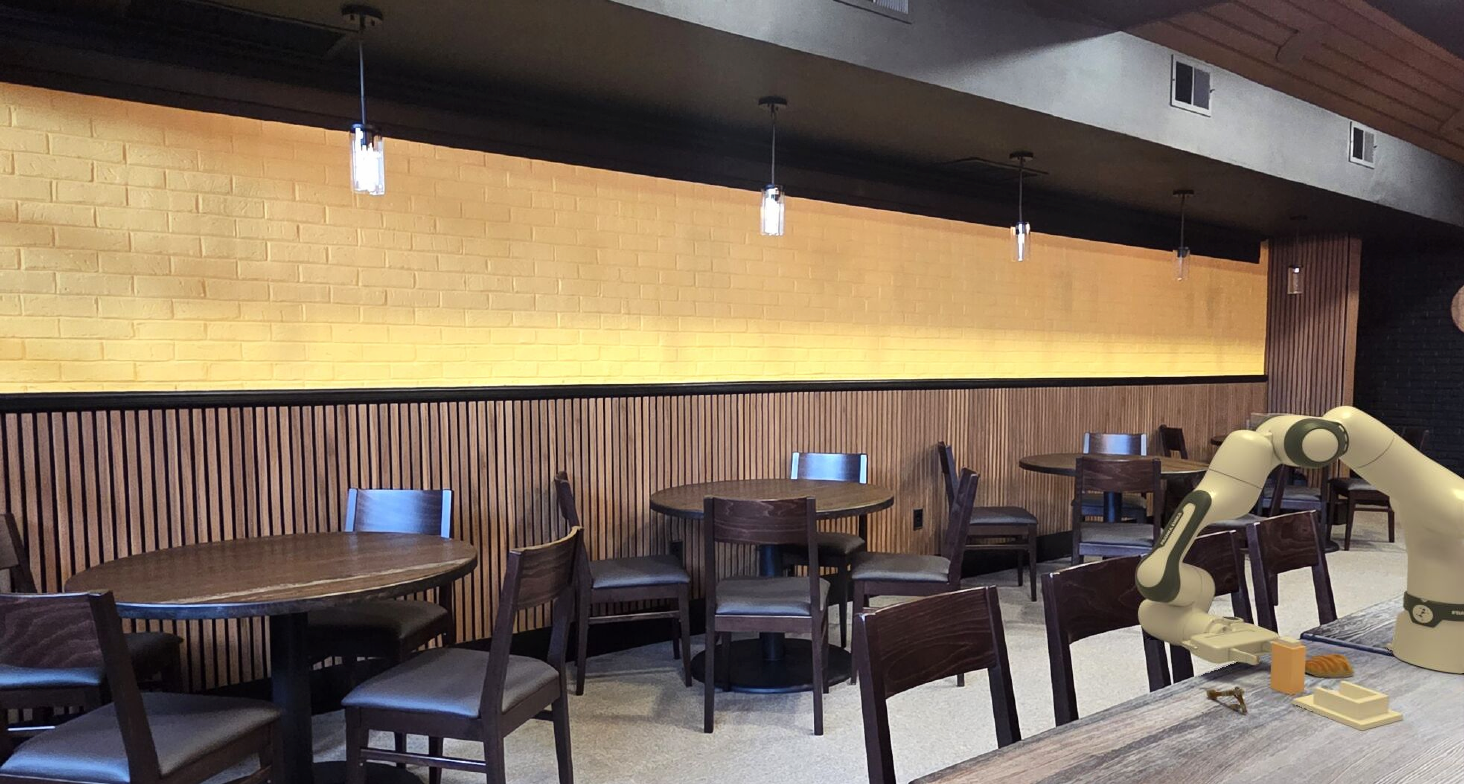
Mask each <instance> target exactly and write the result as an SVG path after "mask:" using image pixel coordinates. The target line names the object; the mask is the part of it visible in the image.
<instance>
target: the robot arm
mask: <svg viewBox="0 0 1464 784" xmlns="http://www.w3.org/2000/svg"><path fill="white" fill-rule="evenodd" d="M1338 459H1339V460H1340V462H1342V463H1343V464H1344V465H1346V466H1347V467H1348V468H1350V470H1353V472H1355V474H1357V475H1358V476H1360V477H1361V478H1362V479H1363V480H1365V481H1366V482H1367V483H1368V484H1369V485H1370V486H1372V487H1374V488H1375V490H1377V491H1379V492H1380V493H1383V494H1384V495H1386V496H1388V497H1389V505H1390V507H1391V509H1392V511H1393V512H1394V514H1395V515H1396V517H1397V519H1398V521H1399V523H1400V528H1401V531H1402V535H1403V539H1404V542H1405V549H1406V554H1407V577H1406V590H1405V591H1404V593H1403V597H1402V602H1403V603H1402V608H1403V609H1404V610H1403V611H1401V612H1399V613H1397V614H1396V619H1395V625H1394V631H1393V637H1392V642H1387V643H1386V647H1387V648H1388V649H1389V650H1388V649H1387V648H1386V647H1385V648H1386V649H1387V650H1388V651H1390V650H1392V651H1393V652H1392V651H1391V652H1392V654H1393V656H1395V657H1396V658H1397V659H1399V660H1401V661H1403V662H1406V663H1409V664H1411V665H1415V666H1419V667H1422V668H1425V669H1429V670H1434V671H1438V672H1445V673H1452V674H1462V673H1464V541H1463V540H1464V478H1462V477H1460V476H1459V475H1457V474H1456V473H1454V472H1453V471H1451V470H1449V469H1447V468H1446V467H1445V466H1443V465H1441V464H1440V463H1438V462H1436V461H1435V460H1433V459H1431V458H1429V457H1427V456H1426V455H1425V454H1423V453H1422V452H1420V451H1419V450H1418V449H1417V448H1415V447H1414V446H1413V445H1411V444H1410V443H1409V442H1408V441H1406V440H1405V439H1404V438H1402V437H1401V436H1399V434H1397V433H1395V432H1394V431H1393V430H1392V429H1391V428H1389V427H1388V426H1387V425H1385V424H1384V423H1382V422H1381V421H1380V420H1378V419H1377V418H1374V417H1372V416H1371V415H1369V414H1368V413H1366V412H1364V411H1363V410H1360V409H1358V408H1357V407H1354V406H1350V405H1341V406H1336V407H1334V408H1332V409H1330V410H1329V411H1327V412H1326V413H1325V414H1324V415H1323V416H1322V417H1321V418H1315V417H1311V416H1306V415H1302V414H1301V415H1300V414H1297V415H1296V414H1282V413H1281V414H1274V415H1270V416H1268V417H1265V418H1264V419H1263V420H1261V421H1260V422H1259V423H1258V424H1257V425H1256V426H1255V427H1253V428H1251V430H1249V429H1241V430H1240V429H1238V430H1235V431H1232V432H1231V433H1230V434H1229V435H1227V437H1226V438H1225V439H1224V441H1223V442H1222V444H1221V445H1220V446H1219V448H1218V449H1217V451H1216V453H1215V454H1214V455H1213V458H1212V460H1211V462H1210V464H1209V465H1208V469H1206V472H1205V475H1203V478H1202V479H1201V481H1200V482H1199V484H1198V485H1197V486H1196V487H1195V489H1193V491H1190V492H1189V493H1188V494H1187V495H1185V497H1184V498H1183V500H1181V502H1180V504H1178V507H1177V508H1176V509H1175V511H1174V513H1173V514H1172V516H1171V518H1170V519H1169V521H1168V523H1167V524H1166V525H1165V527H1164V529H1163V530H1162V532H1161V533H1160V536H1159V537H1158V539H1157V541H1156V542H1155V544H1154V545H1153V547H1152V548H1151V549H1150V550H1149V551H1148V552H1147V554H1145V556H1144V557H1143V558H1142V559H1141V560H1140V561H1139V563H1138V564H1137V565H1136V569H1135V574H1134V577H1135V578H1134V579H1135V584H1136V588H1137V590H1138V592H1139V593H1140V595H1141V596H1143V598H1145V599H1144V600H1143V601H1142V602H1141V603H1140V605H1139V608H1138V612H1137V616H1138V617H1137V618H1138V621H1139V624H1140V625H1141V628H1142V629H1143V630H1144V631H1145V632H1146V633H1148V634H1149V635H1150V636H1152V637H1154V638H1155V639H1158V640H1160V641H1162V642H1165V643H1168V644H1170V645H1174V646H1177V647H1179V646H1180V647H1184V648H1185V649H1186V650H1187V651H1189V653H1190V654H1191V655H1194V656H1195V657H1197V658H1200V659H1202V660H1204V661H1207V662H1209V663H1211V664H1218V665H1220V664H1221V665H1222V664H1226V663H1231V662H1238V663H1245V664H1249V665H1253V666H1256V665H1259V664H1260V662H1261V661H1260V659H1261V656H1265V655H1266V656H1267V655H1270V654H1271V655H1272V643H1274V642H1278V638H1282V637H1281V635H1279V634H1278V633H1277V632H1276V631H1272V630H1271V629H1270V630H1269V629H1268V628H1265V627H1261V626H1259V625H1256V624H1252V623H1249V622H1245V621H1244V619H1243V618H1241V617H1237V616H1221V615H1220V616H1219V615H1216V614H1213V613H1212V614H1210V613H1209V611H1210V609H1211V607H1212V604H1213V601H1214V598H1215V595H1216V584H1215V581H1214V578H1213V576H1212V575H1211V574H1210V572H1208V571H1207V570H1205V569H1204V568H1202V567H1197V566H1195V565H1191V564H1189V563H1185V562H1183V561H1184V558H1185V556H1186V555H1187V553H1188V551H1189V550H1190V548H1191V546H1192V545H1193V544H1194V541H1195V540H1196V538H1197V537H1198V535H1199V533H1200V532H1201V531H1202V530H1203V529H1204V528H1205V527H1207V526H1209V525H1211V524H1213V523H1216V522H1220V521H1227V520H1234V519H1238V518H1240V517H1243V516H1245V515H1248V513H1250V511H1251V510H1252V508H1253V507H1254V506H1256V504H1257V501H1258V499H1259V498H1260V495H1261V493H1262V491H1263V488H1264V486H1265V484H1266V481H1267V478H1268V476H1269V475H1270V473H1272V471H1273V470H1274V469H1275V468H1276V467H1277V466H1279V465H1281V464H1283V465H1287V466H1291V467H1298V468H1299V467H1300V468H1304V469H1320V468H1324V467H1326V466H1329V465H1331V464H1332V463H1334V462H1335V461H1337V460H1338Z"/></svg>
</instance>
